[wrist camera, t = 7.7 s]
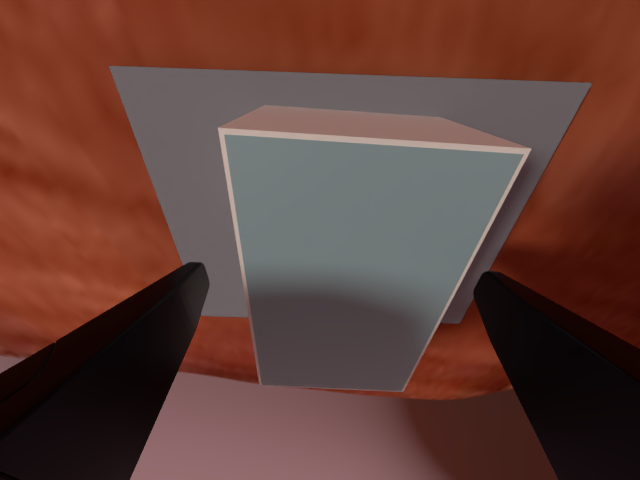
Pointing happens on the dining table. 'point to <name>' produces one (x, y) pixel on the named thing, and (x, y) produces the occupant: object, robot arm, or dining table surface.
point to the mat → (320, 93)
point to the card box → (356, 235)
